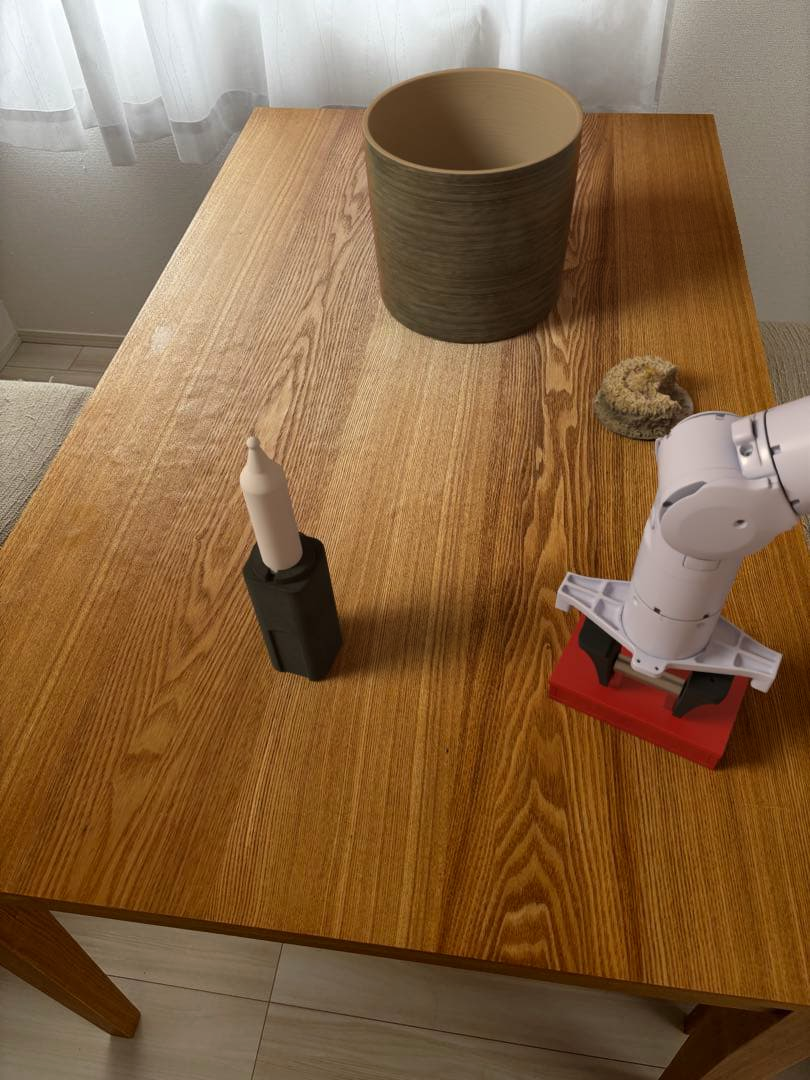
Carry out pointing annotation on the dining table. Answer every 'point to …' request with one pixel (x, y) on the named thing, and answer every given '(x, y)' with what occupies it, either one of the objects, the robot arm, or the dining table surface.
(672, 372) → the cake
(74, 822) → the dining table surface
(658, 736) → the red box base
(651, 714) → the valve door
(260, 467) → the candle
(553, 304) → the planter
